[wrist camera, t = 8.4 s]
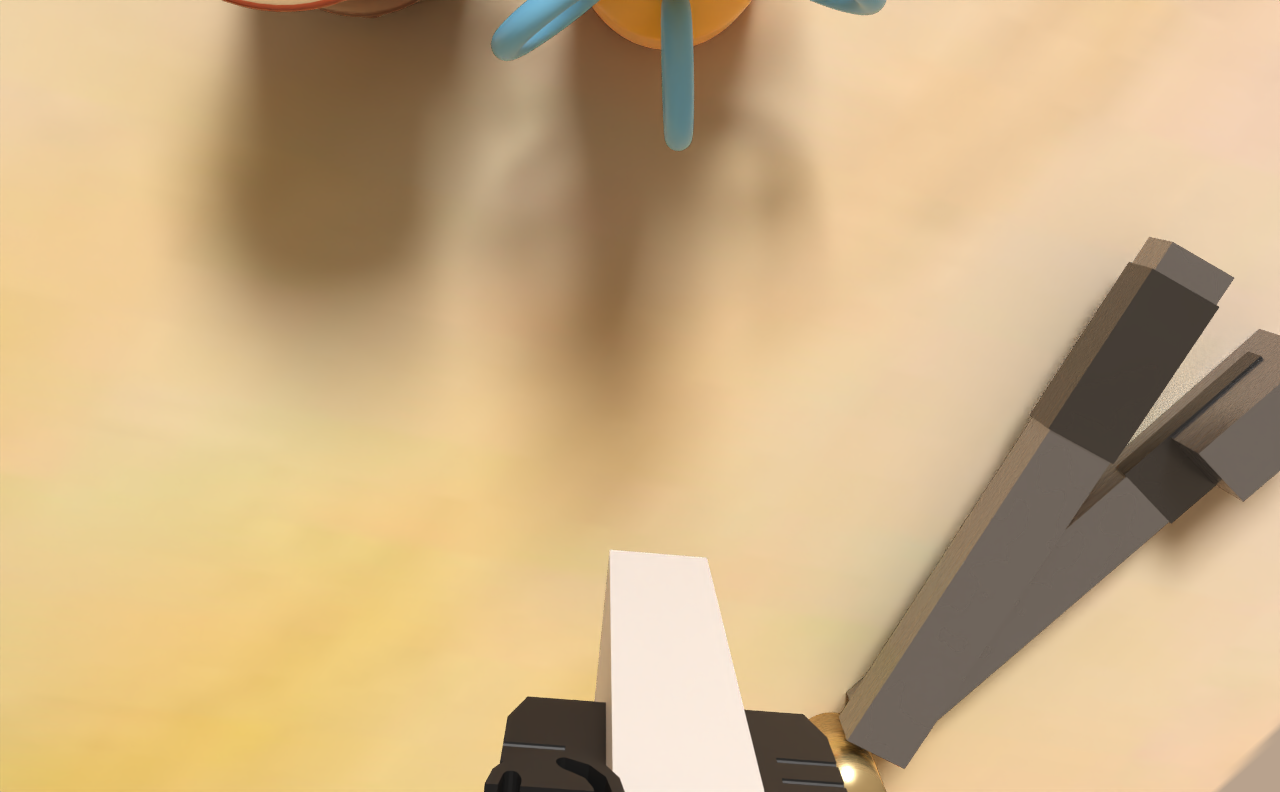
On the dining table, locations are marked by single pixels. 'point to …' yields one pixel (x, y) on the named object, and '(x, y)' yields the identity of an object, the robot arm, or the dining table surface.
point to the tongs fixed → (1131, 510)
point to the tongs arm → (1036, 493)
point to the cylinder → (646, 39)
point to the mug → (329, 6)
